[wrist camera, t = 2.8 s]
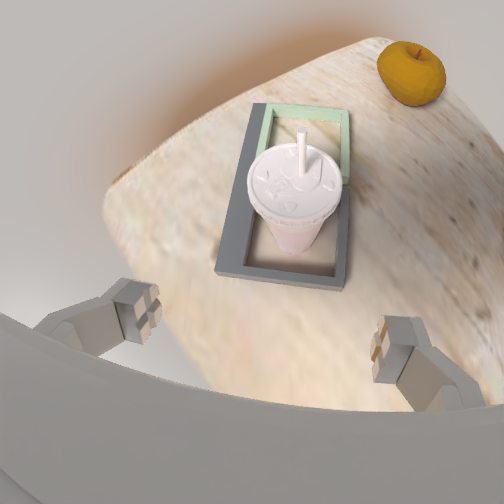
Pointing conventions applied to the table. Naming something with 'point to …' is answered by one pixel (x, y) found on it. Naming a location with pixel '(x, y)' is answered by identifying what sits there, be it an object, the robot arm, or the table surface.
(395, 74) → the apple
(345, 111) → the rail
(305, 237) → the smoothie
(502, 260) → the table surface
